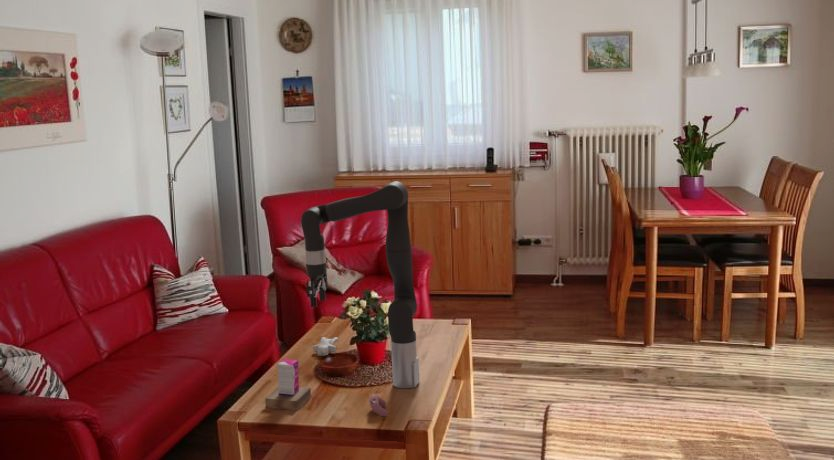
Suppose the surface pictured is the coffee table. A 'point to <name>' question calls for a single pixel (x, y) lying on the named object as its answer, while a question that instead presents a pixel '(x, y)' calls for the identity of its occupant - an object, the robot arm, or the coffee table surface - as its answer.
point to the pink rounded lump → (378, 405)
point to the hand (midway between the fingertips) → (318, 303)
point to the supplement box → (288, 377)
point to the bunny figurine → (325, 346)
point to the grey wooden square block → (288, 399)
